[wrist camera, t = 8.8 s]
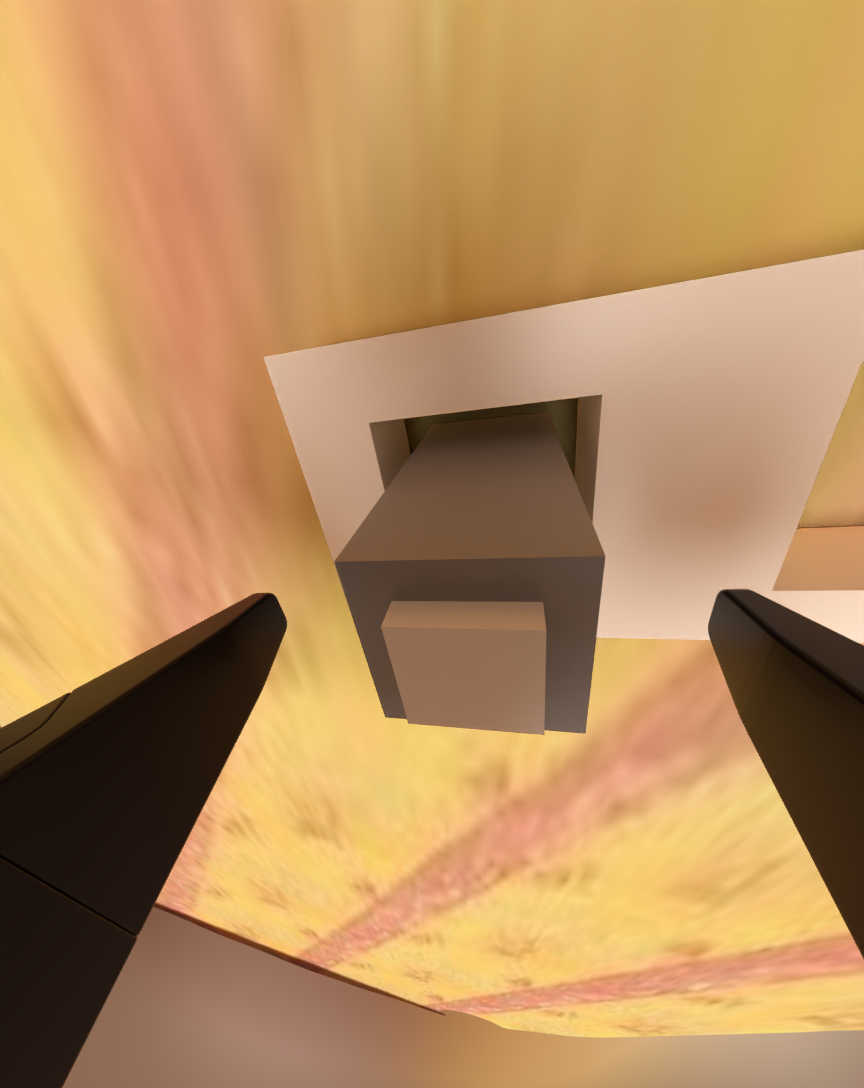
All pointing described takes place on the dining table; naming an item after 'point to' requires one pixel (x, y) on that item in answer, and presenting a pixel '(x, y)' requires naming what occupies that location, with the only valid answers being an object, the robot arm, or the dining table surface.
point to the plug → (480, 582)
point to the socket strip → (631, 431)
